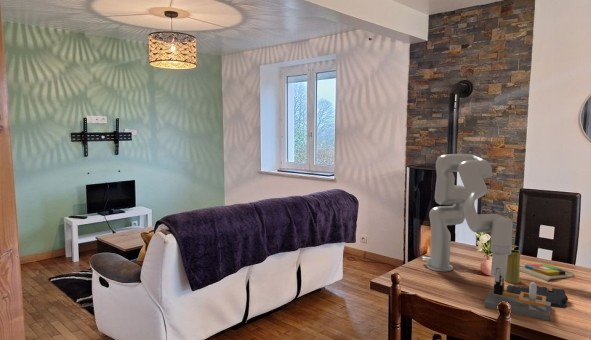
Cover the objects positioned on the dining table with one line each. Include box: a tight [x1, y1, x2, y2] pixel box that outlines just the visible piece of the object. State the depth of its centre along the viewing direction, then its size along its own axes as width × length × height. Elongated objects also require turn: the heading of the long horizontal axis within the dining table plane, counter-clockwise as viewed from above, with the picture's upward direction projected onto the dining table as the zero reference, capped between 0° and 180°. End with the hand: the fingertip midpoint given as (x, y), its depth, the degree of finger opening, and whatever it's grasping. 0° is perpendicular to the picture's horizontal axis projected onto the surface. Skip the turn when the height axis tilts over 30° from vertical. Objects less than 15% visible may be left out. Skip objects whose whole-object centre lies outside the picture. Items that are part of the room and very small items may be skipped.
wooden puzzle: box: [520, 262, 575, 282], centre depth 201 cm, size 18×19×4 cm
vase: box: [504, 249, 521, 284], centre depth 190 cm, size 6×6×14 cm
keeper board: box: [483, 281, 552, 322], centre depth 162 cm, size 22×14×11 cm, turn 56°
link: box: [494, 278, 546, 307], centre depth 162 cm, size 18×9×6 cm, turn 56°
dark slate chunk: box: [506, 284, 569, 309], centre depth 172 cm, size 15×22×5 cm
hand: (498, 292), depth 166 cm, fingers closed on link, 3 cm apart
